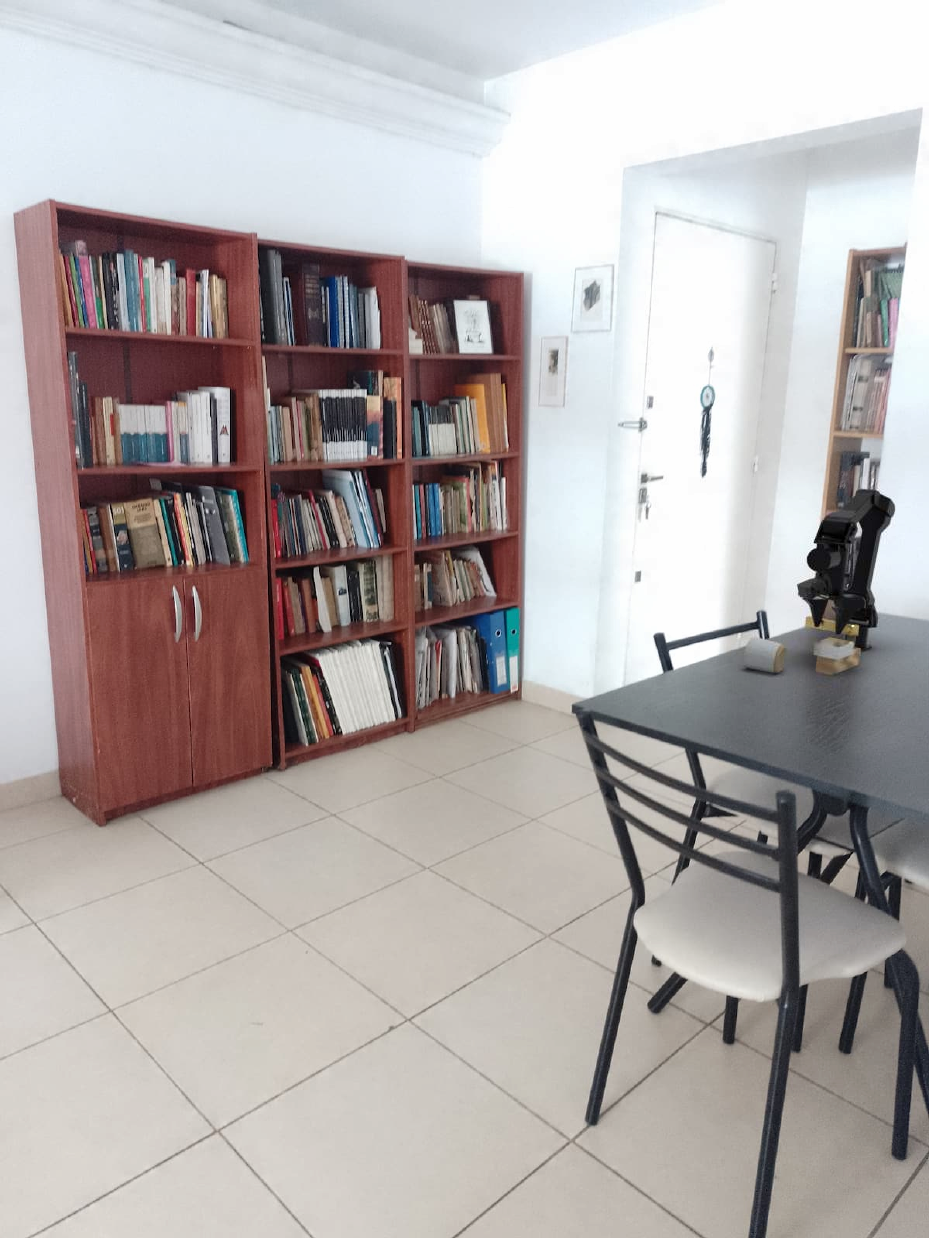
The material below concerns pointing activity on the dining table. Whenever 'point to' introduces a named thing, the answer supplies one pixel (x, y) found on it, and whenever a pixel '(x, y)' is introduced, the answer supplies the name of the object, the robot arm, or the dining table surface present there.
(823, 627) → the lever
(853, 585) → the robot arm
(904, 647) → the dining table surface
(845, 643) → the frosted white brick
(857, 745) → the dining table surface
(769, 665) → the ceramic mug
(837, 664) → the tan block
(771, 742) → the dining table surface
